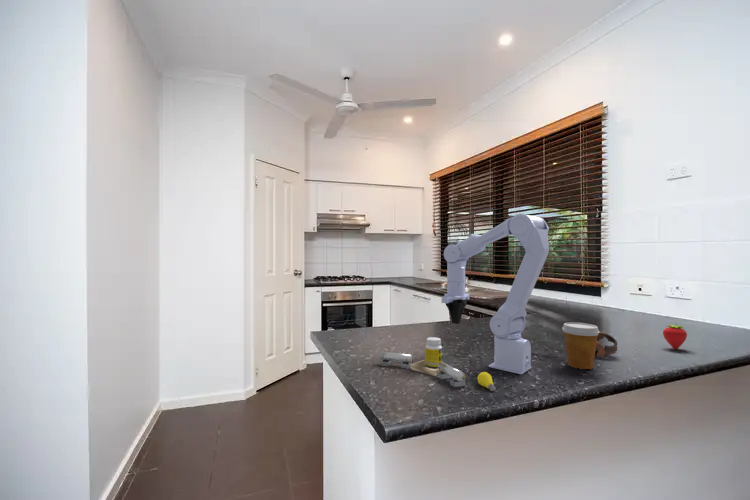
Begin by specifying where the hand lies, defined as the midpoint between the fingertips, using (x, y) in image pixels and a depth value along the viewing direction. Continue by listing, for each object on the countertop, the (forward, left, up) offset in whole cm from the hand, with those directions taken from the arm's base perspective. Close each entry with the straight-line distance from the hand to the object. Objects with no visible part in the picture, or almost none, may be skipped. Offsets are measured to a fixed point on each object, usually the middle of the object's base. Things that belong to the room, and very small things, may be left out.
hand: (455, 323), depth 117 cm
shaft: (-12, +23, -10) cm, 28 cm away
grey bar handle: (+6, +23, -10) cm, 26 cm away
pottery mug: (-33, -32, -10) cm, 48 cm away
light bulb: (-21, +21, -10) cm, 31 cm away
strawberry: (-52, -59, -10) cm, 79 cm away
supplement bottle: (-3, +18, -10) cm, 21 cm away
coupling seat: (-3, +19, -10) cm, 22 cm away
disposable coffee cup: (-33, -14, -10) cm, 37 cm away
